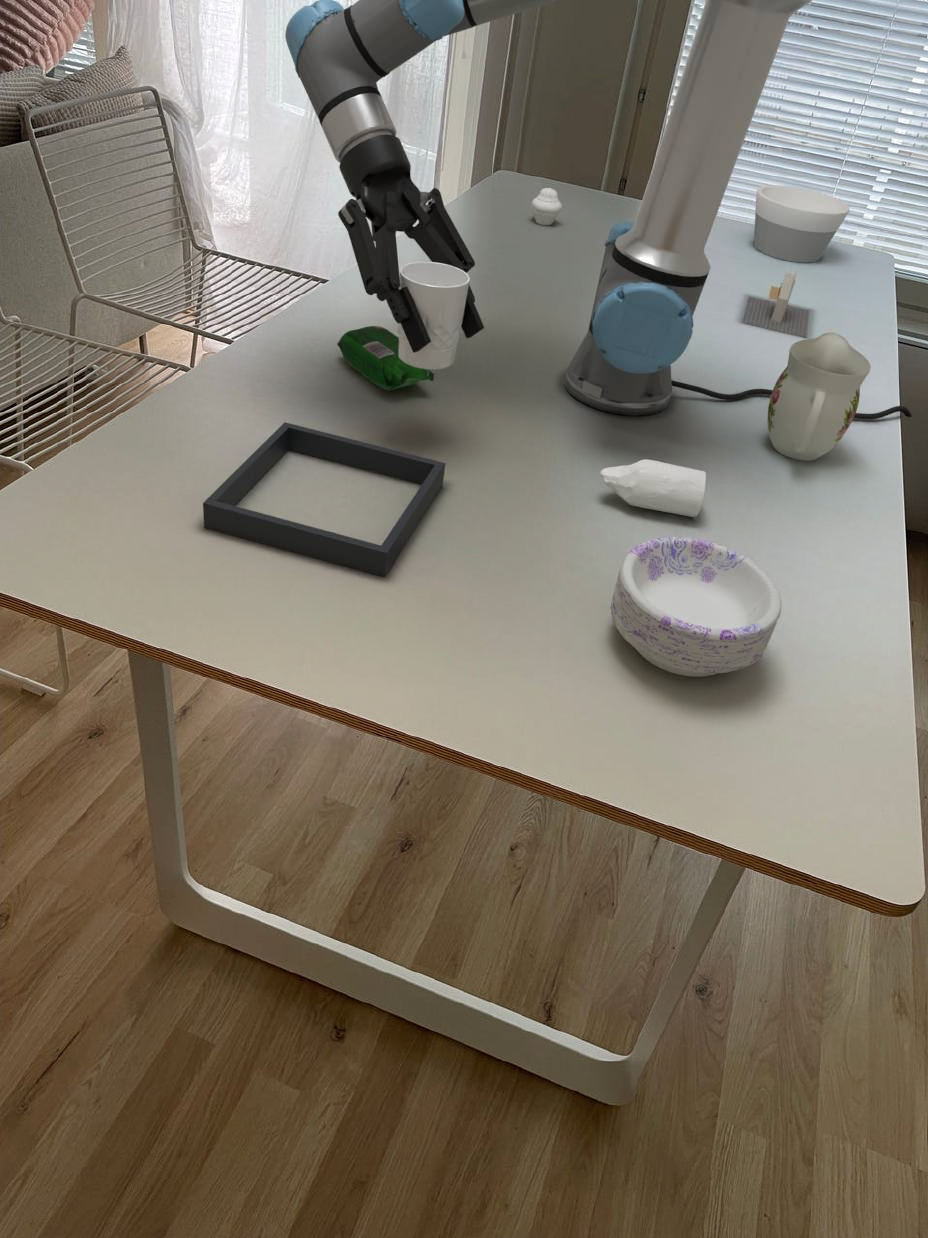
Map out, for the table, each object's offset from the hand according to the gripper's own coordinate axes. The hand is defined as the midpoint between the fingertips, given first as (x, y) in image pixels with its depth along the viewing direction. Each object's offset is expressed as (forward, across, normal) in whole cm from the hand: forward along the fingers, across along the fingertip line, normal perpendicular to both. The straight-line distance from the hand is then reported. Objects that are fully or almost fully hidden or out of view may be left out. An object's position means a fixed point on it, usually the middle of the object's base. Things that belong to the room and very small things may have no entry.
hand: (449, 339), depth 111 cm
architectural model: (+8, -87, -13) cm, 88 cm away
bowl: (-7, -125, -27) cm, 128 cm away
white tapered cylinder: (+26, -13, +6) cm, 30 cm away
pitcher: (+29, -43, +8) cm, 52 cm away
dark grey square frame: (+12, +19, -8) cm, 24 cm away
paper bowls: (+40, +6, +19) cm, 44 cm away
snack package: (-3, -8, -24) cm, 25 cm away
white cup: (0, 0, -5) cm, 5 cm away
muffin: (-31, -86, -52) cm, 105 cm away
